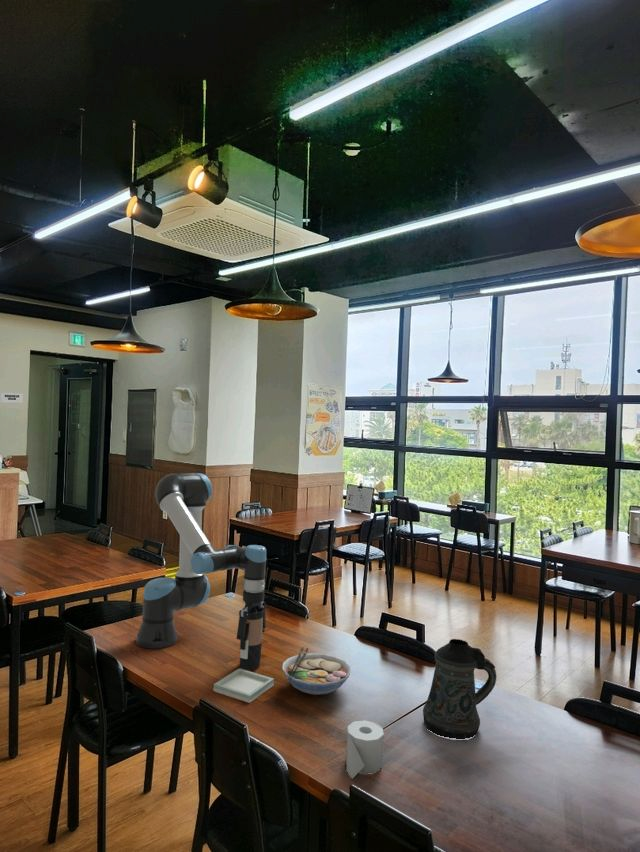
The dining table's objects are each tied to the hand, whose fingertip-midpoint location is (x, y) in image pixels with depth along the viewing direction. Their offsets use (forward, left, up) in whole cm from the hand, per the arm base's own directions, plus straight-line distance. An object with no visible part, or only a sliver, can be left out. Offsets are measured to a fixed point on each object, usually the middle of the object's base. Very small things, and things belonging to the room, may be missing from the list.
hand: (250, 653), depth 195 cm
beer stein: (+73, 0, -4) cm, 73 cm away
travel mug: (0, 0, -4) cm, 4 cm away
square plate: (+8, -15, -4) cm, 18 cm away
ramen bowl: (+28, -3, -4) cm, 29 cm away
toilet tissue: (+57, -33, -4) cm, 66 cm away
